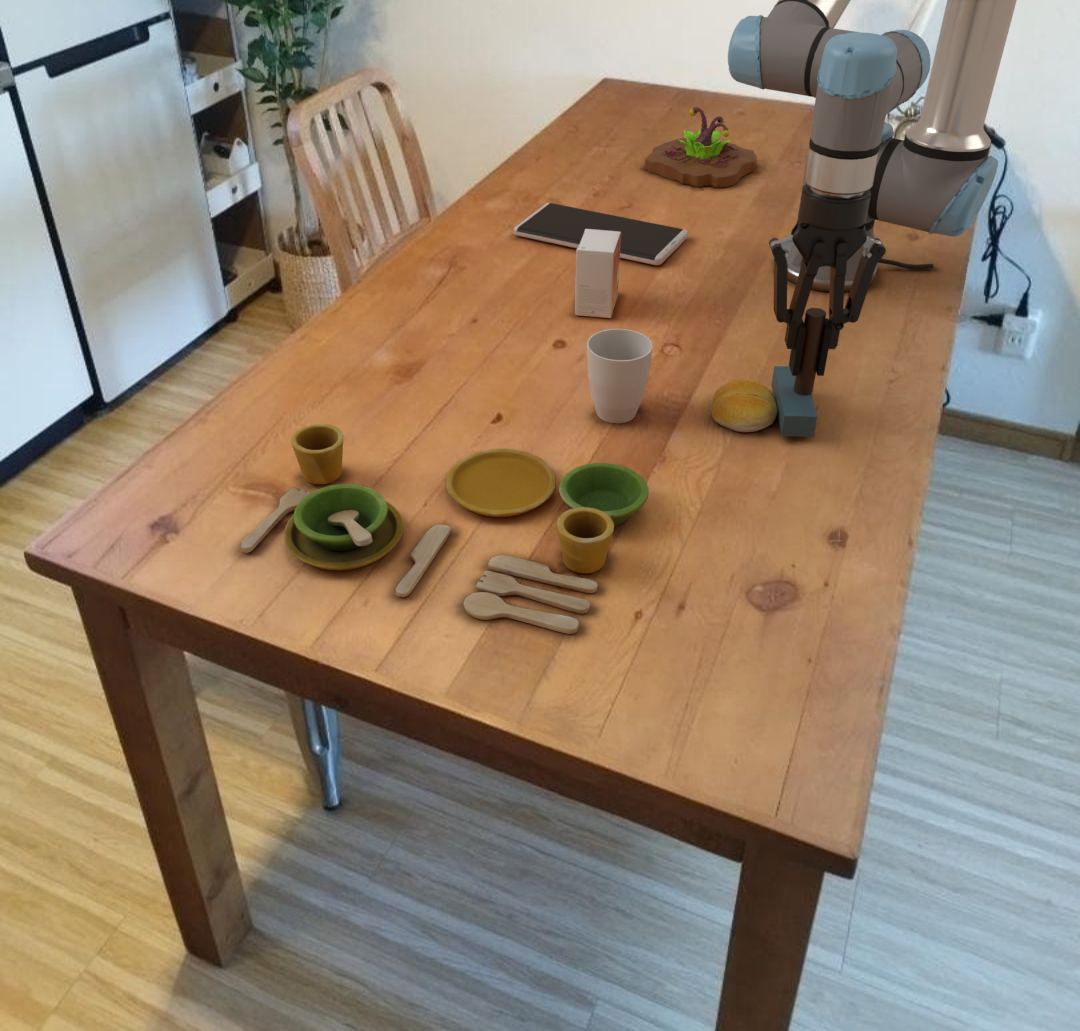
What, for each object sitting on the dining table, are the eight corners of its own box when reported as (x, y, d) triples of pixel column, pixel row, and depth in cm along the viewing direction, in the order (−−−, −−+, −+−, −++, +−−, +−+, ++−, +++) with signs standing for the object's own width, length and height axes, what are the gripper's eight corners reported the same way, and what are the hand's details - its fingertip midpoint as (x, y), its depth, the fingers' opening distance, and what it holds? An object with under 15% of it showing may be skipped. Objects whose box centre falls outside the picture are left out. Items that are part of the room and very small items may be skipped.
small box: (611, 319, 159) (614, 252, 152) (574, 316, 160) (575, 249, 153) (619, 295, 165) (622, 230, 158) (583, 292, 166) (584, 227, 159)
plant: (681, 143, 219) (686, 86, 212) (768, 163, 210) (776, 104, 203) (630, 171, 206) (633, 112, 199) (720, 194, 197) (726, 133, 190)
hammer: (803, 386, 142) (819, 289, 133) (815, 437, 133) (833, 336, 124) (771, 385, 142) (785, 289, 134) (781, 436, 133) (797, 335, 124)
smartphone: (547, 210, 191) (547, 200, 190) (689, 238, 182) (690, 228, 181) (511, 237, 182) (511, 227, 181) (659, 268, 172) (660, 258, 171)
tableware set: (224, 553, 116) (213, 506, 112) (347, 422, 137) (341, 379, 133) (584, 648, 105) (586, 600, 101) (660, 489, 125) (664, 445, 121)
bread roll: (710, 432, 135) (714, 405, 132) (711, 395, 142) (715, 369, 139) (777, 437, 134) (781, 410, 132) (775, 400, 141) (779, 373, 139)
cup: (654, 402, 140) (659, 334, 134) (638, 435, 134) (643, 365, 128) (595, 391, 143) (597, 324, 136) (576, 423, 137) (578, 354, 130)
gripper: (898, 174, 122) (861, 355, 137) (762, 173, 122) (740, 355, 137) (915, 199, 116) (875, 386, 131) (772, 198, 117) (747, 385, 131)
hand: (806, 369), depth 134 cm, fingers closed on hammer, 2 cm apart
